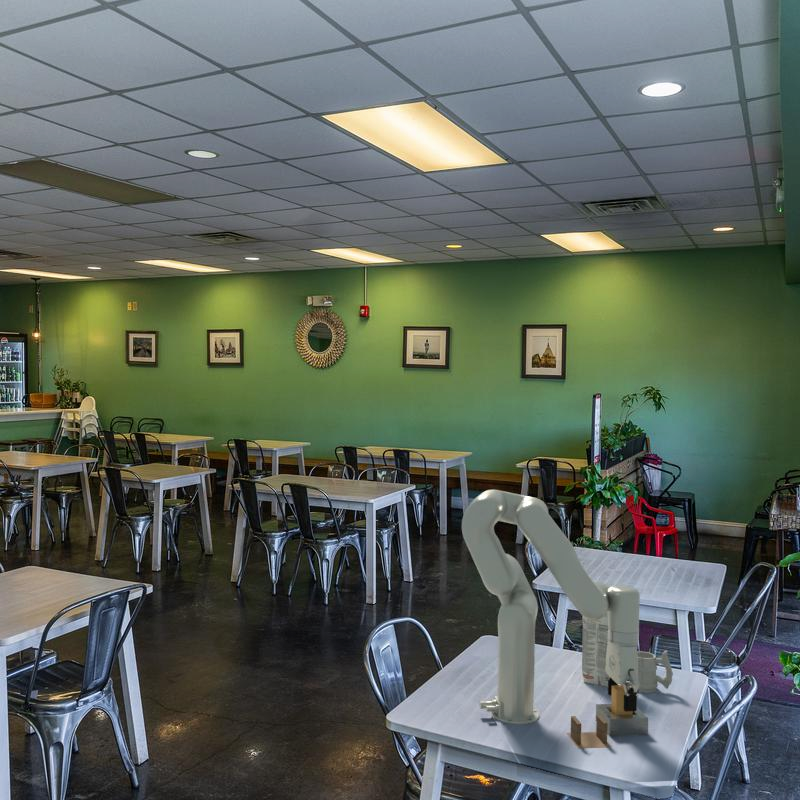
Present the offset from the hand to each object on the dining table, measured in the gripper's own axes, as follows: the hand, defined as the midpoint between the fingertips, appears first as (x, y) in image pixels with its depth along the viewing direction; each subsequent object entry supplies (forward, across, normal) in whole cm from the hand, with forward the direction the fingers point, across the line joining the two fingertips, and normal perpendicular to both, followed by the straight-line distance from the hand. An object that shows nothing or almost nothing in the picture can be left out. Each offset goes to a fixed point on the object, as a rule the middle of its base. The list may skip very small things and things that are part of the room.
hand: (621, 702), depth 189 cm
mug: (+7, -25, +20) cm, 33 cm away
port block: (+7, 0, 0) cm, 7 cm away
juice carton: (+7, -32, +7) cm, 34 cm away
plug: (+6, 0, 0) cm, 6 cm away
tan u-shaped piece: (+7, +6, -11) cm, 14 cm away
